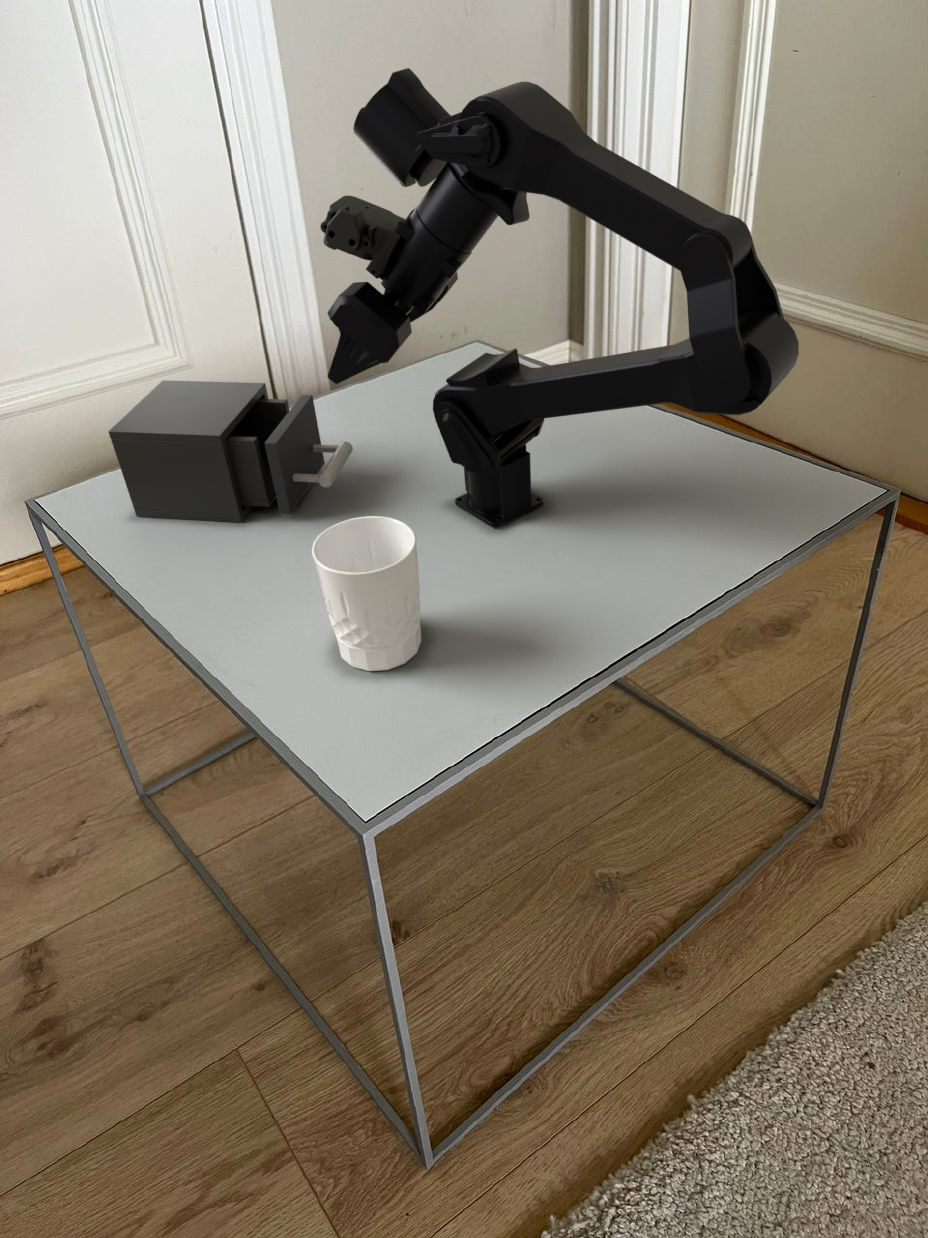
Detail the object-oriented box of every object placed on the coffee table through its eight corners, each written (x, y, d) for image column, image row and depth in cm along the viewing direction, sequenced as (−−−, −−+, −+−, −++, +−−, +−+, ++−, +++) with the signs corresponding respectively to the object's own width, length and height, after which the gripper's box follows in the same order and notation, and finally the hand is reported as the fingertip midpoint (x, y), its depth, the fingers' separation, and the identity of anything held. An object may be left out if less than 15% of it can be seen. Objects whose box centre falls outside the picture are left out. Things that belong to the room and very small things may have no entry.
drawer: (361, 464, 100) (351, 395, 95) (330, 516, 92) (317, 445, 87) (233, 458, 103) (217, 392, 98) (193, 509, 95) (173, 439, 90)
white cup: (415, 681, 74) (401, 576, 67) (319, 673, 75) (297, 570, 69) (437, 618, 80) (426, 518, 73) (348, 612, 81) (330, 513, 75)
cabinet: (282, 465, 103) (265, 382, 97) (241, 522, 94) (219, 435, 88) (185, 461, 105) (162, 380, 99) (136, 516, 96) (108, 431, 90)
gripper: (404, 137, 84) (319, 271, 94) (325, 187, 70) (234, 339, 79) (500, 223, 86) (407, 345, 96) (442, 289, 72) (340, 425, 82)
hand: (350, 360), depth 88 cm, fingers open, 9 cm apart
